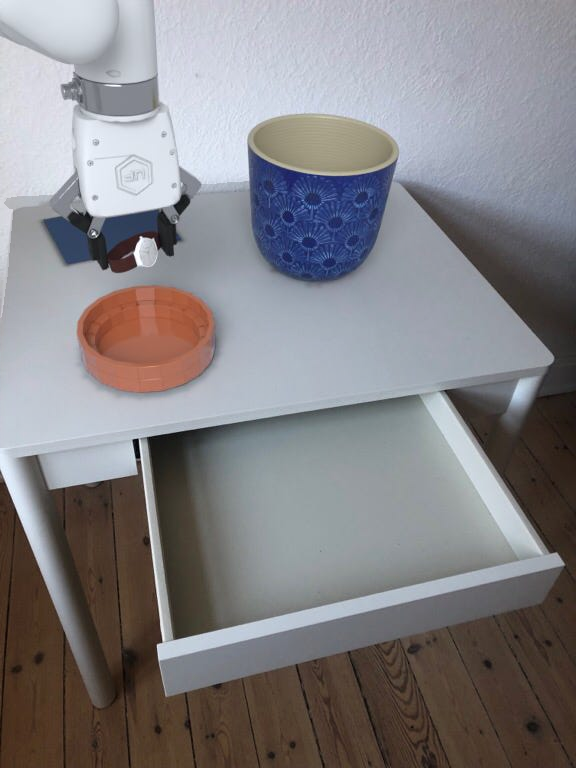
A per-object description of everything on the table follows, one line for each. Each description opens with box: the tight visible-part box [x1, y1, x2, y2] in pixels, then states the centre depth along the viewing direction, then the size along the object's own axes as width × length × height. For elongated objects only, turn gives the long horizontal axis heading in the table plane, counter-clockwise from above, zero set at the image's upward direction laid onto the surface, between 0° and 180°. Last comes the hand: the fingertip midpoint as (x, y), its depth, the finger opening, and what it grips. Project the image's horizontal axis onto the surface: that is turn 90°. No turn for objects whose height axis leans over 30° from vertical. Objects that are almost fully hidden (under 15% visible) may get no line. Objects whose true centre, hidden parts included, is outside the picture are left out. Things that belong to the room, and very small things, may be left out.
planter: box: [246, 112, 400, 282], centre depth 93 cm, size 21×21×19 cm
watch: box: [107, 231, 162, 274], centre depth 71 cm, size 8×5×4 cm, turn 154°
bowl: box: [76, 284, 216, 393], centre depth 79 cm, size 16×16×4 cm
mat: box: [43, 209, 182, 265], centre depth 102 cm, size 18×14×1 cm
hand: (134, 256), depth 72 cm, fingers closed on watch, 6 cm apart
